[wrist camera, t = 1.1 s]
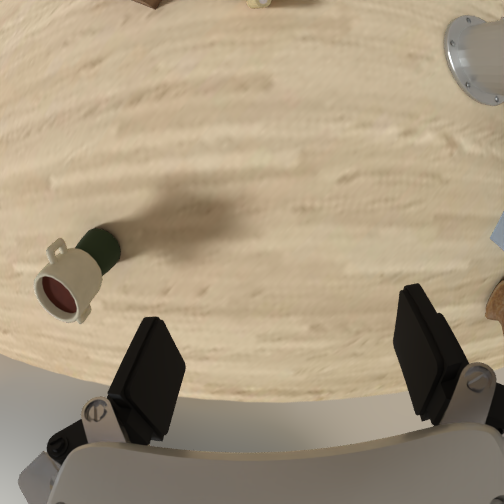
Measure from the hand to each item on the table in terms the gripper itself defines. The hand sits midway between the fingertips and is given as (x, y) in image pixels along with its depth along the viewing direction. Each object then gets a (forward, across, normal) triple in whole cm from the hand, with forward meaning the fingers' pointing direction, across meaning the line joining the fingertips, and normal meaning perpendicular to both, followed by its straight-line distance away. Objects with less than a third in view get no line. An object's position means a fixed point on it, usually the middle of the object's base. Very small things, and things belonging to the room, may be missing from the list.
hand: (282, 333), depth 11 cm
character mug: (+25, +26, +5) cm, 36 cm away
